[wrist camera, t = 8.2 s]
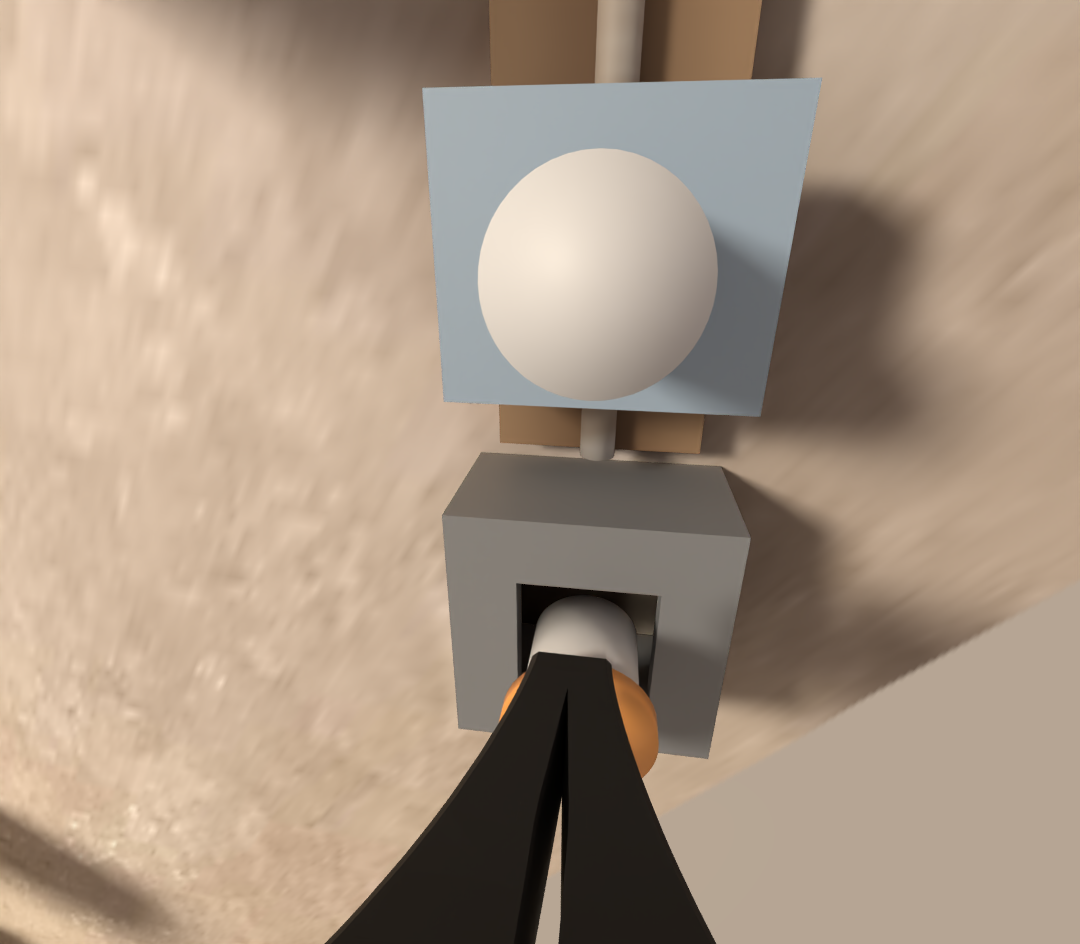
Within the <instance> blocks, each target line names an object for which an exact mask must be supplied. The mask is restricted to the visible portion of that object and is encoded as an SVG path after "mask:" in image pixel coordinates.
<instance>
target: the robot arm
mask: <svg viewBox="0 0 1080 944" xmlns="http://www.w3.org/2000/svg"><path fill="white" fill-rule="evenodd" d="M561 798H562V842H561V921H560V933H559V944H716V942H715V940H714V938H713V937H712V935H711V933H710V931H709V929H708V927H707V925H706V923H705V921H704V919H703V917H702V915H701V913H700V911H699V909H698V907H697V905H696V903H695V901H694V899H693V897H692V894H691V892H690V890H689V888H688V886H687V884H686V882H685V880H684V878H683V876H682V873H681V871H680V869H679V867H678V865H677V863H676V860H675V858H674V856H673V854H672V851H671V849H670V847H669V845H668V842H667V840H666V838H665V835H664V833H663V831H662V828H661V826H660V823H659V821H658V818H657V816H656V814H655V811H654V809H653V806H652V804H651V801H650V799H649V796H648V793H647V791H646V788H645V786H644V783H643V780H642V778H641V775H640V772H639V769H638V766H637V763H636V760H635V757H634V754H633V751H632V749H631V746H630V743H629V740H628V736H627V733H626V730H625V727H624V723H623V719H622V716H621V712H620V708H619V705H618V700H617V696H616V691H615V686H614V681H613V674H612V664H611V663H610V662H609V661H608V660H607V659H604V658H595V657H586V656H576V655H567V654H558V653H549V652H540V651H539V652H537V653H536V654H534V655H533V656H532V658H531V661H530V663H529V666H528V668H527V671H526V673H525V675H524V677H523V679H522V681H521V683H520V685H519V687H518V689H517V691H516V693H515V695H514V697H513V699H512V701H511V702H510V704H509V706H508V708H507V710H506V712H505V713H504V715H503V717H502V718H501V720H500V721H499V723H498V725H497V726H496V728H495V730H494V731H493V733H492V735H491V736H490V738H489V740H488V741H487V743H486V745H485V746H484V748H483V749H482V751H481V752H480V754H479V755H478V757H477V758H476V760H475V761H474V763H473V764H472V766H471V767H470V769H469V770H468V771H467V773H466V774H465V776H464V777H463V779H462V780H461V782H460V783H459V784H458V786H457V787H456V789H455V790H454V792H453V793H452V795H451V796H450V797H449V799H448V800H447V801H446V803H445V804H444V805H443V807H442V808H441V809H440V811H439V812H438V813H437V815H436V816H435V817H434V819H433V820H432V821H431V823H430V824H429V825H428V826H427V828H426V829H425V830H424V832H423V833H422V834H421V835H420V837H419V838H418V839H417V840H416V841H415V843H414V844H413V845H412V846H411V848H410V849H409V850H408V851H407V853H406V854H405V855H404V856H403V857H402V859H401V860H400V861H399V862H398V863H397V864H396V866H395V867H394V868H393V869H392V870H391V871H390V873H389V874H388V875H387V876H386V877H385V878H384V880H383V881H382V882H381V883H380V884H379V885H378V886H377V888H376V889H375V890H374V891H373V892H372V893H371V895H370V896H369V897H368V898H367V899H366V900H365V901H364V902H363V904H362V905H361V906H360V907H359V908H358V909H357V910H356V911H355V912H354V913H353V915H352V916H351V917H350V918H349V919H348V920H347V921H346V922H345V923H344V924H343V925H342V926H341V927H340V929H339V930H338V931H337V932H336V933H335V934H334V935H333V936H332V937H331V938H330V939H329V940H328V941H327V942H326V943H325V944H535V941H536V935H537V930H538V925H539V919H540V914H541V908H542V902H543V897H544V892H545V886H546V881H547V875H548V870H549V864H550V859H551V853H552V848H553V842H554V837H555V831H556V826H557V820H558V815H559V809H560V804H561Z"/></svg>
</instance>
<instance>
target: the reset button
mask: <svg viewBox="0 0 1080 944" xmlns="http://www.w3.org/2000/svg"><path fill="white" fill-rule="evenodd" d="M539 651H540V652H549V653H558V654H567V655H576V656H586V657H595V658H604V659H607V660H608V661H609V662H610V663H611V664H612V674H613V681H614V686H615V691H616V696H617V700H618V705H619V708H620V712H621V716H622V719H623V723H624V727H625V730H626V733H627V736H628V740H629V743H630V746H631V749H632V751H633V754H634V757H635V760H636V763H637V766H638V769H639V772H640V775H641V778H643V777H644V776H645V775H646V774H647V773H648V772H649V771H650V769H651V768H652V766H653V765H654V762H655V760H656V758H657V754H658V748H659V740H658V726H657V717H656V712H655V709H654V706H653V704H652V702H651V700H650V698H649V697H648V696H647V694H646V693H645V691H644V690H643V689H642V688H641V687H640V686H639V675H638V650H637V633H636V629H635V626H634V624H633V622H632V620H631V619H630V617H629V616H628V615H627V614H626V613H625V611H623V610H622V609H621V608H620V607H618V606H617V605H615V604H614V603H612V602H610V601H608V600H605V599H602V598H599V597H595V596H588V595H577V596H570V597H566V598H563V599H560V600H558V601H556V602H554V603H552V604H551V605H550V606H548V607H547V608H546V609H545V610H544V611H543V612H542V614H541V616H540V617H539V619H538V622H537V625H536V630H535V635H534V639H533V644H532V649H531V653H530V658H529V663H530V661H531V658H532V656H533V655H534V654H536V653H537V652H539ZM529 663H528V666H529ZM525 673H526V672H525ZM525 673H523V674H522V675H521V676H519V677H518V678H517V679H516V680H515V681H514V682H513V683H512V685H511V686H510V688H509V689H508V691H507V693H506V696H505V699H504V703H503V707H502V711H501V715H500V719H499V721H500V720H501V718H502V717H503V715H504V713H505V712H506V710H507V708H508V706H509V704H510V702H511V701H512V699H513V697H514V695H515V693H516V691H517V689H518V687H519V685H520V683H521V681H522V679H523V677H524V675H525Z"/></svg>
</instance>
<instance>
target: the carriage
mask: <svg viewBox="0 0 1080 944" xmlns="http://www.w3.org/2000/svg"><path fill="white" fill-rule="evenodd" d="M821 82H822V78H794V79H754V80H714V81H674V82H634V83H594V84H554V85H514V86H474V87H434V88H422V92H423V107H424V121H425V136H426V150H427V164H428V179H429V193H430V208H431V222H432V237H433V251H434V266H435V280H436V295H437V309H438V323H439V338H440V352H441V367H442V381H443V396H444V402H461V403H482V404H503V405H525V406H546V407H567V408H588V409H609V410H630V411H652V412H673V413H694V414H715V415H736V416H757V417H760V416H761V410H762V405H763V399H764V394H765V388H766V383H767V377H768V372H769V366H770V361H771V355H772V350H773V344H774V339H775V333H776V328H777V322H778V317H779V312H780V306H781V301H782V295H783V290H784V284H785V279H786V273H787V268H788V262H789V257H790V251H791V246H792V240H793V235H794V229H795V224H796V218H797V213H798V208H799V202H800V197H801V191H802V186H803V180H804V175H805V169H806V164H807V158H808V153H809V147H810V142H811V136H812V131H813V125H814V120H815V114H816V109H817V103H818V98H819V93H820V87H821Z"/></svg>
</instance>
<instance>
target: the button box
mask: <svg viewBox="0 0 1080 944" xmlns="http://www.w3.org/2000/svg"><path fill="white" fill-rule="evenodd" d="M442 522H443V534H444V547H445V560H446V573H447V586H448V599H449V612H450V625H451V638H452V650H453V663H454V676H455V689H456V702H457V715H458V728H459V729H467V730H475V731H484V732H492V733H493V731H494V730H495V728H496V726H497V725H498V723H499V719H500V715H501V711H502V707H503V703H504V699H505V696H506V693H507V691H508V689H509V688H510V686H511V685H512V683H513V682H514V681H515V680H516V679H517V678H518V677H519V676H521V675H522V674H523V673H525V672H526V671H527V668H528V663H529V658H530V653H531V649H532V644H533V639H534V635H535V630H536V625H537V624H527V623H522V619H521V584H531V585H542V586H554V587H565V588H576V589H588V590H599V591H611V592H622V593H633V594H645V595H656V596H658V600H657V608H656V617H655V625H654V634H653V636H651V635H641V634H637V650H638V675H639V686H640V687H641V688H642V689H643V690H644V691H645V693H646V694H647V696H648V697H649V698H650V700H651V702H652V704H653V706H654V709H655V712H656V717H657V726H658V740H659V748H658V753H664V754H672V755H680V756H689V757H697V758H705V759H708V757H709V752H710V747H711V741H712V736H713V731H714V726H715V721H716V716H717V710H718V705H719V700H720V695H721V690H722V685H723V680H724V674H725V669H726V664H727V659H728V654H729V649H730V643H731V638H732V633H733V628H734V623H735V618H736V613H737V607H738V602H739V597H740V592H741V587H742V582H743V576H744V571H745V566H746V561H747V556H748V551H749V546H750V540H751V537H750V535H749V532H748V530H747V527H746V525H745V523H744V520H743V518H742V515H741V513H740V511H739V508H738V506H737V503H736V501H735V499H734V496H733V494H732V492H731V489H730V487H729V484H728V482H727V480H726V477H725V475H724V472H723V470H722V468H721V467H720V466H703V465H686V464H669V463H652V462H635V461H618V460H605V461H592V460H588V459H583V458H566V457H549V456H532V455H515V454H498V453H481V454H480V455H479V457H478V458H477V460H476V462H475V463H474V465H473V466H472V468H471V470H470V471H469V473H468V474H467V476H466V478H465V479H464V481H463V482H462V484H461V486H460V487H459V489H458V490H457V492H456V494H455V495H454V497H453V498H452V500H451V502H450V503H449V505H448V506H447V508H446V510H445V511H444V513H443V515H442Z"/></svg>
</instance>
